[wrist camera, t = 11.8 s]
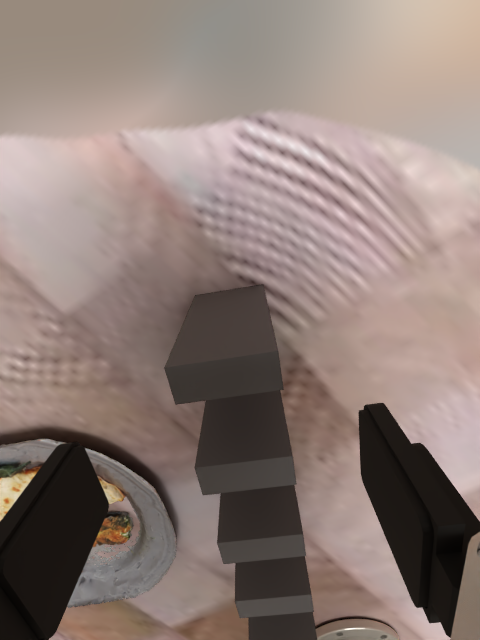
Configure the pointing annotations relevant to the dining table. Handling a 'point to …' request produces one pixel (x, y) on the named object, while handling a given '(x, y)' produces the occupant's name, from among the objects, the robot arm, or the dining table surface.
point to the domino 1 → (225, 348)
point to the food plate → (117, 482)
